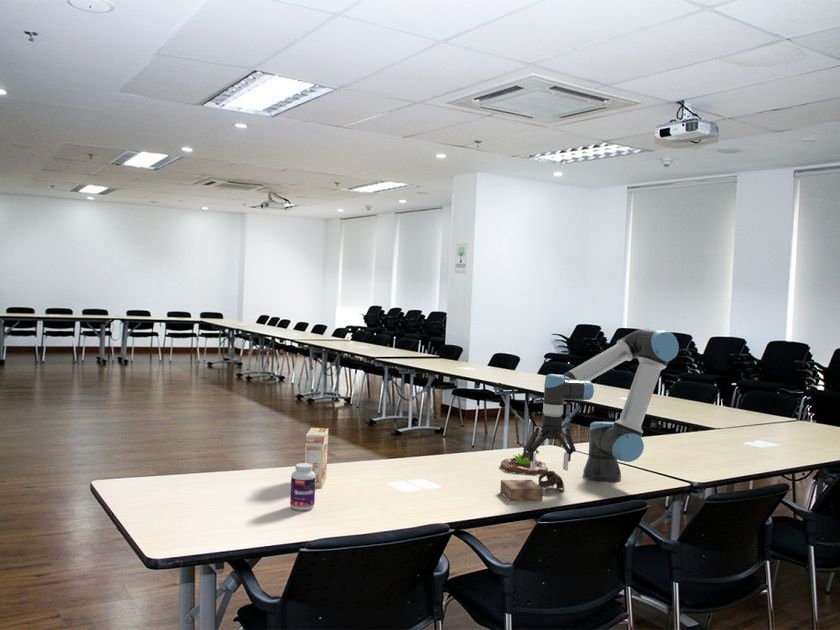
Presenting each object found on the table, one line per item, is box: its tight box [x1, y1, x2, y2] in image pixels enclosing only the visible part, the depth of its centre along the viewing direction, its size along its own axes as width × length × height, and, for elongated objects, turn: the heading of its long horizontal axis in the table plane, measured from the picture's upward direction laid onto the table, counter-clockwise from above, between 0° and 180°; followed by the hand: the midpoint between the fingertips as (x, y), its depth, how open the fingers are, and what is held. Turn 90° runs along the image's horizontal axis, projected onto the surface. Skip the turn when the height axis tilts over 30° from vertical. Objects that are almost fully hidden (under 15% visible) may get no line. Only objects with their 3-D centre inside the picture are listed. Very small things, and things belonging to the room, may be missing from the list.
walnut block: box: [500, 479, 544, 502], centre depth 263 cm, size 12×12×5 cm
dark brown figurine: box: [537, 470, 566, 492], centre depth 276 cm, size 12×10×8 cm
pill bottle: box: [289, 462, 316, 512], centre depth 239 cm, size 8×8×14 cm
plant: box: [500, 443, 549, 476], centre depth 306 cm, size 20×20×11 cm
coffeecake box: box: [304, 427, 329, 489], centre depth 271 cm, size 15×7×20 cm, turn 0°
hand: (548, 469), depth 275 cm, fingers open, 13 cm apart
